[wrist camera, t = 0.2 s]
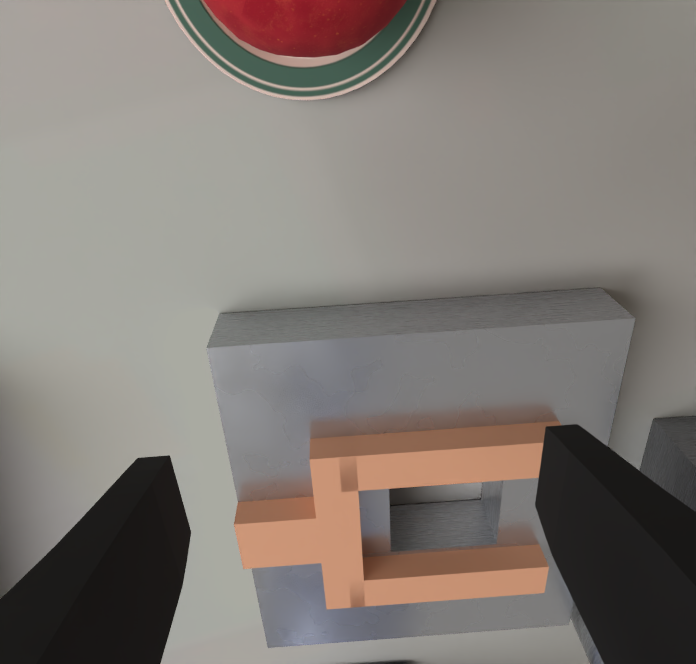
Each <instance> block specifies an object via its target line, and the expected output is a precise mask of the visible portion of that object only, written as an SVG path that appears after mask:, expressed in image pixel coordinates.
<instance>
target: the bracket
mask: <svg viewBox="0 0 696 664" xmlns="http://www.w3.org/2000/svg"><path fill="white" fill-rule="evenodd" d="M559 425H561V423H560V422H559V421H551V422H537V423H523V424H509V425H495V426H481V427H467V428H454V429H440V430H426V431H412V432H398V433H384V434H370V435H356V436H342V437H328V438H314V439H310V457H309V460H310V469H311V478H312V486H313V495H314V497H300V498H286V499H273V500H259V501H245V502H238V505H237V511H236V516H235V522H234V527H235V532H236V536H237V541H238V545H239V550H240V555H241V559H242V564H243V569H249V568H263V567H276V566H290V565H303V564H316V563H321V565H322V574H323V583H324V591H325V600H326V609H340V608H353V607H366V606H379V605H393V604H406V603H419V602H432V601H445V600H459V599H472V598H485V597H498V596H512V595H525V594H538V593H544V592H545V587H546V581H547V575H548V570H549V566H548V563H547V561H546V559H545V556H544V554H543V552H542V550H541V547H540V545H539V544H537V545H523V546H510V547H497V548H483V549H470V550H456V551H443V552H429V553H416V554H403V555H389V556H376V557H362V542H361V526H360V509H359V493H358V491H364V490H378V489H392V488H405V487H419V486H433V485H447V484H460V483H474V482H488V481H502V480H515V479H529V478H539V472H540V465H541V457H542V450H543V443H544V435H545V428H546V426H559Z"/></svg>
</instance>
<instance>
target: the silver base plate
mask: <svg viewBox="0 0 696 664" xmlns="http://www.w3.org/2000/svg"><path fill="white" fill-rule="evenodd" d="M634 323H635V317H633V316H632V315H631V314H630V313H629V312H628V311H627V310H625V309H624V308H623V307H622V306H621V305H620V304H619V303H618V302H616V301H615V300H614V299H613V298H612V297H611V296H610V295H608V294H607V293H606V292H605V291H604V290H603V289H602V288H591V289H576V290H562V291H547V292H532V293H518V294H503V295H488V296H474V297H459V298H444V299H430V300H415V301H400V302H386V303H371V304H357V305H342V306H327V307H313V308H298V309H283V310H269V311H254V312H239V313H225V314H219V316H218V319H217V321H216V324H215V327H214V329H213V332H212V335H211V337H210V340H209V343H208V345H207V353H208V358H209V362H210V367H211V372H212V377H213V382H214V387H215V392H216V397H217V402H218V406H219V411H220V416H221V421H222V426H223V431H224V436H225V441H226V446H227V450H228V455H229V460H230V465H231V470H232V475H233V480H234V485H235V490H236V494H237V499H238V502H245V501H259V500H273V499H286V498H300V497H314V495H313V486H312V478H311V469H310V460H309V457H310V439H314V438H328V437H342V436H356V435H370V434H384V433H398V432H412V431H426V430H440V429H454V428H467V427H481V426H495V425H509V424H523V423H537V422H551V421H559V422H560V423H561V425H572V424H578V425H579V426H581V427H582V428H584V429H585V430H586V431H588V432H589V433H590V434H592V435H593V436H594V437H596V438H597V439H598V440H600V441H601V442H602V443H604V444H605V445H606V446H608V442H609V437H610V433H611V428H612V424H613V419H614V414H615V410H616V405H617V401H618V396H619V392H620V387H621V382H622V378H623V373H624V369H625V364H626V360H627V355H628V350H629V346H630V341H631V337H632V332H633V328H634ZM538 479H539V478H529V479H515V480H502V481H488V482H482V493H481V499H480V500H466V501H453V502H439V503H425V504H412V505H398V506H390V501H389V489H378V490H364V491H358V493H359V509H360V526H361V542H362V557H376V556H389V555H403V554H416V553H429V552H443V551H456V550H470V549H483V548H497V547H510V546H523V545H537V544H539V545H540V547H541V550H542V552H543V554H544V556H545V559H546V561H547V563H548V566H549V570H548V575H547V581H546V587H545V592H544V593H538V594H525V595H512V596H498V597H485V598H472V599H459V600H445V601H432V602H419V603H406V604H393V605H379V606H366V607H353V608H340V609H326V600H325V591H324V583H323V574H322V565H321V563H316V564H303V565H290V566H276V567H263V568H252V573H253V578H254V582H255V587H256V592H257V597H258V602H259V607H260V612H261V617H262V622H263V626H264V631H265V636H266V641H267V646H268V648H272V647H285V646H298V645H311V644H324V643H338V642H351V641H364V640H377V639H390V638H403V637H416V636H429V635H442V634H455V633H468V632H481V631H494V630H508V629H521V628H534V627H547V626H560V625H569V620H570V616H571V611H572V606H573V602H574V601H573V599H572V597H571V595H570V592H569V590H568V588H567V586H566V584H565V582H564V580H563V578H562V576H561V573H560V571H559V569H558V567H557V565H556V563H555V561H554V559H553V556H552V554H551V551H550V548H549V545H548V543H547V540H546V537H545V534H544V531H543V528H542V525H541V522H540V519H539V516H538V513H537V510H536V507H535V501H536V494H537V487H538Z"/></svg>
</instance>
